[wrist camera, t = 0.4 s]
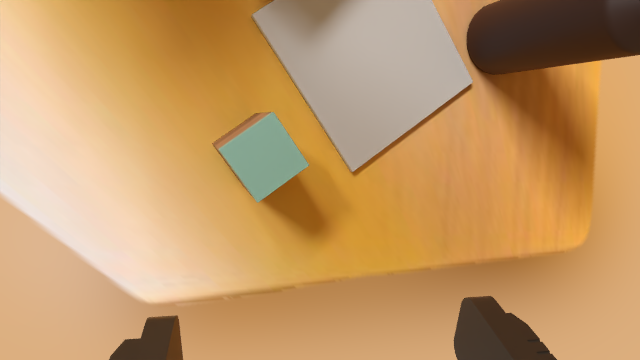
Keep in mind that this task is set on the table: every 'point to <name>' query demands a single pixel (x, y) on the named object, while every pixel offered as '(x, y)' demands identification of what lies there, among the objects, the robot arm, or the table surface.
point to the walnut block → (261, 154)
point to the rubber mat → (365, 66)
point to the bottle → (552, 33)
